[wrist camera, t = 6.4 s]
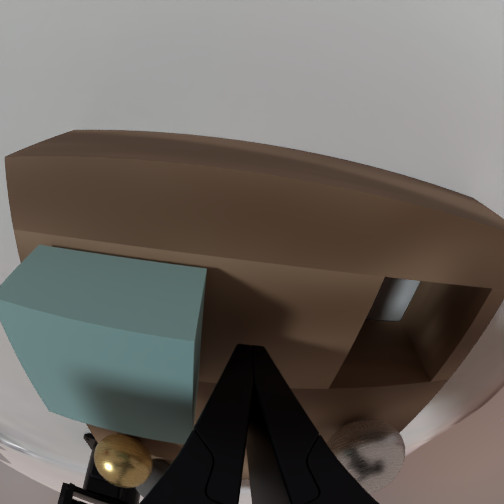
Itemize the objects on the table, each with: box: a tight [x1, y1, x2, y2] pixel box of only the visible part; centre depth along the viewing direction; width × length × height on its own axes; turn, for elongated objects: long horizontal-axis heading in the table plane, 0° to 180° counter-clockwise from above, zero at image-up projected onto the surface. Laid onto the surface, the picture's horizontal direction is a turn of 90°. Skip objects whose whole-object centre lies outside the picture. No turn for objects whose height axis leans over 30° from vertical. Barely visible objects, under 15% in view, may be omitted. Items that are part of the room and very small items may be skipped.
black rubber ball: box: [135, 460, 170, 498], centre depth 14 cm, size 3×3×3 cm
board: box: [5, 130, 504, 479], centre depth 14 cm, size 20×18×4 cm
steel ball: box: [326, 418, 405, 493], centre depth 11 cm, size 4×4×4 cm
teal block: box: [0, 245, 207, 444], centre depth 7 cm, size 5×5×2 cm
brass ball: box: [94, 434, 153, 488], centre depth 12 cm, size 3×3×3 cm
